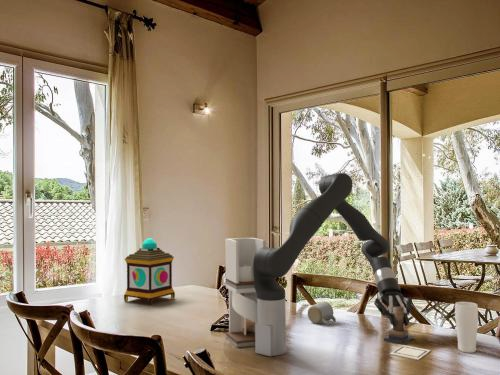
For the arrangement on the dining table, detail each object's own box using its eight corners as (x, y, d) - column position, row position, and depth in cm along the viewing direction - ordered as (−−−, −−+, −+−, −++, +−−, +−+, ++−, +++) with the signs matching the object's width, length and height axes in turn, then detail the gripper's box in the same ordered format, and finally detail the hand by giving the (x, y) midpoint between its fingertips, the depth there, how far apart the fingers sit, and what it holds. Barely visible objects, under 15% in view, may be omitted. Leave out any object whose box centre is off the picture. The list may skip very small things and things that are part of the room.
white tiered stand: (226, 338, 174) (225, 238, 175) (254, 335, 178) (253, 237, 178) (236, 347, 163) (235, 241, 164) (266, 343, 167) (265, 240, 168)
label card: (418, 360, 149) (418, 359, 150) (389, 354, 155) (389, 353, 155) (430, 351, 158) (430, 350, 158) (403, 345, 164) (403, 344, 164)
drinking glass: (459, 346, 163) (458, 300, 163) (481, 350, 159) (480, 303, 159) (452, 351, 158) (452, 304, 158) (475, 355, 153) (474, 307, 154)
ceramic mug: (306, 322, 195) (306, 303, 195) (318, 318, 201) (318, 299, 201) (328, 327, 188) (328, 307, 188) (340, 323, 194) (340, 304, 194)
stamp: (402, 339, 168) (402, 309, 168) (388, 336, 171) (388, 307, 171) (408, 336, 171) (408, 307, 172) (394, 333, 175) (394, 305, 175)
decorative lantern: (179, 299, 241) (178, 237, 242) (150, 306, 225) (150, 240, 225) (148, 294, 252) (148, 236, 252) (119, 302, 235) (119, 239, 236)
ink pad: (403, 344, 165) (403, 341, 165) (383, 340, 170) (383, 337, 170) (413, 338, 172) (413, 335, 172) (394, 335, 177) (394, 332, 177)
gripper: (370, 277, 178) (383, 319, 166) (408, 276, 179) (424, 318, 167) (365, 289, 183) (378, 331, 171) (402, 288, 185) (417, 329, 172)
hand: (400, 324), depth 169 cm, fingers closed on stamp, 3 cm apart
